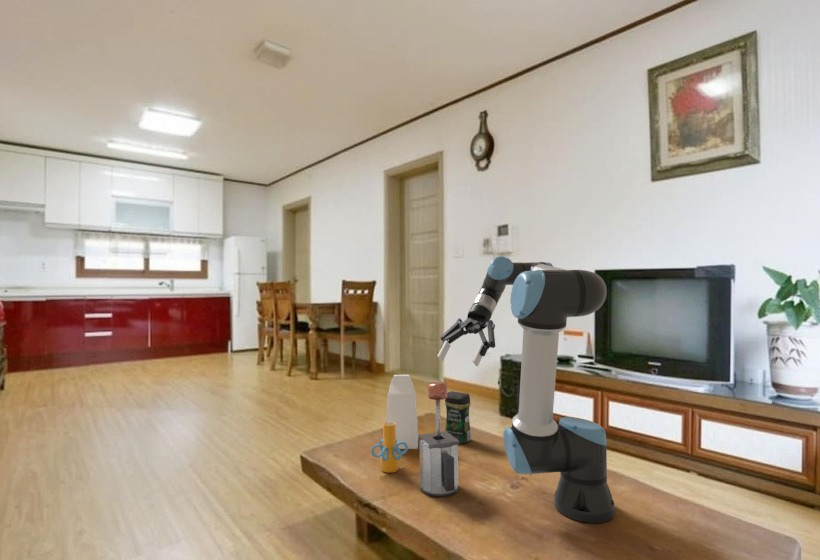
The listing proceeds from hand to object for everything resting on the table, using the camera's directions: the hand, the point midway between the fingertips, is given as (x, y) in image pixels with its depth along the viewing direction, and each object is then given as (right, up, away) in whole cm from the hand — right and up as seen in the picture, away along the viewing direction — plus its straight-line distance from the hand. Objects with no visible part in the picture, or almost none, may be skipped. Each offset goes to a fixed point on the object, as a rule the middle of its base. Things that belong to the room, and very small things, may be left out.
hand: (456, 361), depth 137 cm
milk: (-18, -37, +29) cm, 50 cm away
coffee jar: (+4, -37, +31) cm, 48 cm away
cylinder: (-21, -37, +6) cm, 43 cm away
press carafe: (-6, -36, -10) cm, 38 cm away
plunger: (-6, -27, -8) cm, 29 cm away
